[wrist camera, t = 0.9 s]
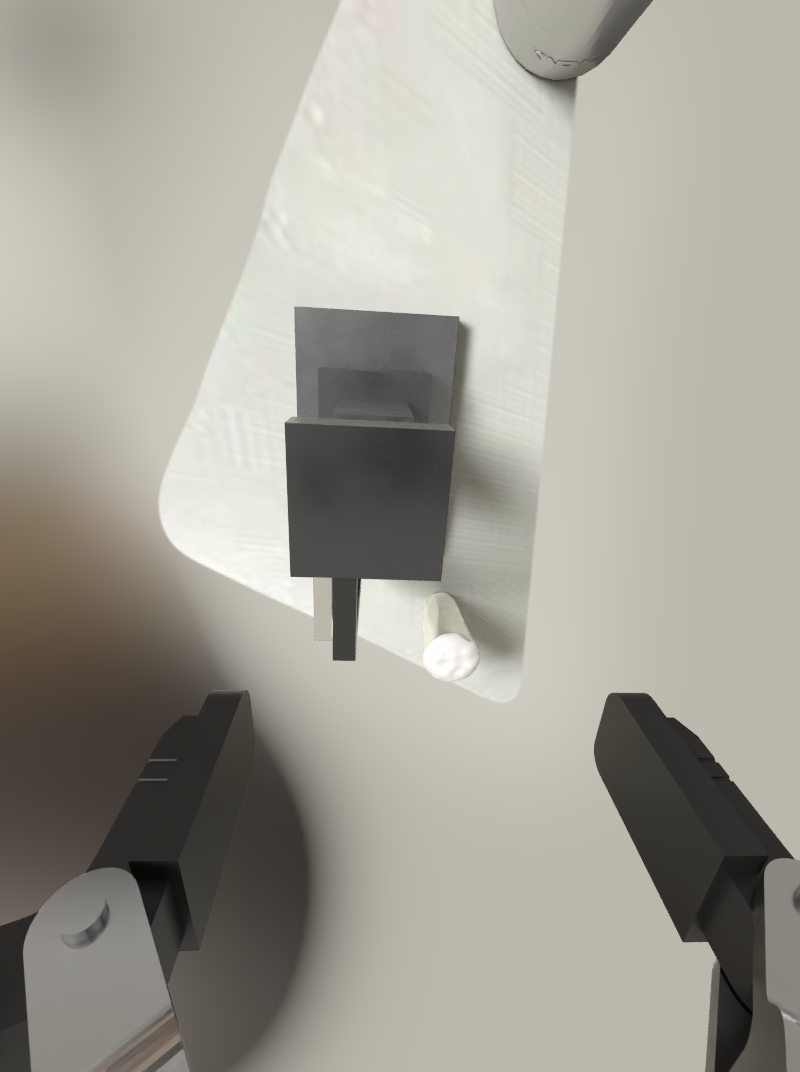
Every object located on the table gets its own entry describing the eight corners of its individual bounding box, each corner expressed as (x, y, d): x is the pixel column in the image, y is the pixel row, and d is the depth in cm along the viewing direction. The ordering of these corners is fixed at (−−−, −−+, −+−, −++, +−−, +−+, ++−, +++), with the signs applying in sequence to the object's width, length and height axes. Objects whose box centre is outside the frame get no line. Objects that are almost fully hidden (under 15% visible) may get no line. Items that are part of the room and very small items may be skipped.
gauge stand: (297, 307, 35) (238, 279, 20) (456, 317, 36) (510, 297, 21) (303, 541, 42) (262, 646, 27) (435, 545, 43) (465, 650, 28)
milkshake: (472, 585, 45) (497, 647, 35) (453, 631, 46) (471, 702, 37) (427, 573, 44) (440, 633, 35) (410, 620, 46) (417, 689, 36)
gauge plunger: (321, 392, 27) (284, 422, 16) (425, 398, 27) (455, 430, 17) (323, 558, 31) (294, 669, 20) (413, 561, 31) (432, 672, 21)
